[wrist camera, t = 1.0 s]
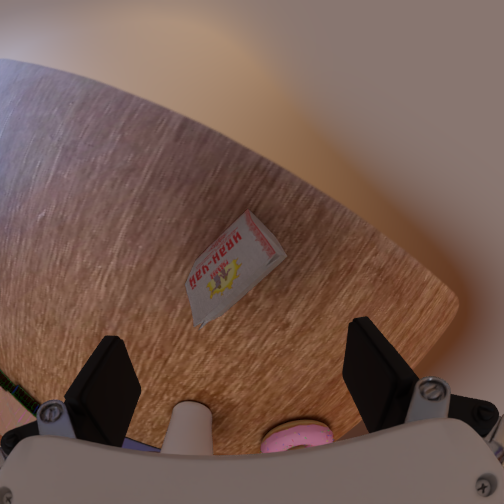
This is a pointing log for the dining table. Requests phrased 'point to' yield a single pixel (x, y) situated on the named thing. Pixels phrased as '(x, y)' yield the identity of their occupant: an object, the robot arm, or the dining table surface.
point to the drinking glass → (189, 430)
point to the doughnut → (296, 436)
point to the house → (13, 410)
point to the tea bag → (231, 267)
